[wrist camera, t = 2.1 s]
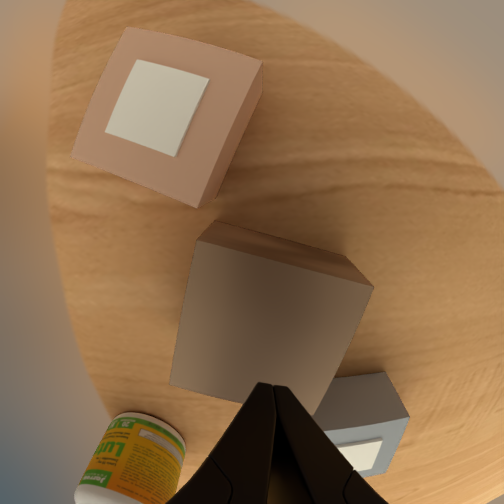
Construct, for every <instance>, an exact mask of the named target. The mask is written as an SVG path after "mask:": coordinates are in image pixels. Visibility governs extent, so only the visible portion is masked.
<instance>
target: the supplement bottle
mask: <svg viewBox="0 0 504 504" xmlns="http://www.w3.org/2000/svg"><path fill="white" fill-rule="evenodd" d="M185 452H186V447H185V443H184V441H183V439H182V437H181V436H180V434H179V433H178V432H177V431H176V430H175V429H173V428H172V427H171V426H169V425H168V424H166V423H165V422H163V421H161V420H159V419H157V418H154V417H152V416H149V415H145V414H141V413H134V412H128V413H123V414H120V415H118V416H116V417H115V418H114V419H113V420H112V422H111V424H110V425H109V427H108V429H107V431H106V433H105V434H104V436H103V438H102V440H101V442H100V444H99V446H98V447H97V449H96V451H95V453H94V455H93V457H92V459H91V461H90V463H89V465H88V467H87V469H86V471H85V473H84V475H83V477H82V479H81V481H80V483H79V485H78V487H77V489H76V492H75V495H74V498H75V502H76V504H165V503H166V502H167V501H168V500H169V499H171V498H172V497H173V496H174V495H175V492H176V489H177V485H178V481H179V477H180V472H181V469H182V465H183V461H184V457H185Z"/></svg>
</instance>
